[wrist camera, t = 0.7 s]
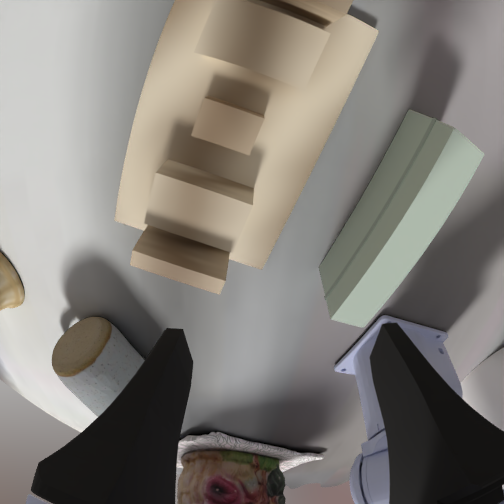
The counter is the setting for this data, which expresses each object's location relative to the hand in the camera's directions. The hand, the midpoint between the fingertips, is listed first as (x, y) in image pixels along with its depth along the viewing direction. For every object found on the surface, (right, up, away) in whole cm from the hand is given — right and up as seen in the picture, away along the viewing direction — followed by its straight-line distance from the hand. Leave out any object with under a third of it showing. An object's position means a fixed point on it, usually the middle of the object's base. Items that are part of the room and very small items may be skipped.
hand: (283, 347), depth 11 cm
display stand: (-2, +10, +4) cm, 12 cm away
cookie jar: (-5, -34, +35) cm, 49 cm away
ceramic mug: (-15, -5, +16) cm, 23 cm away
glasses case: (+7, +7, +7) cm, 12 cm away
